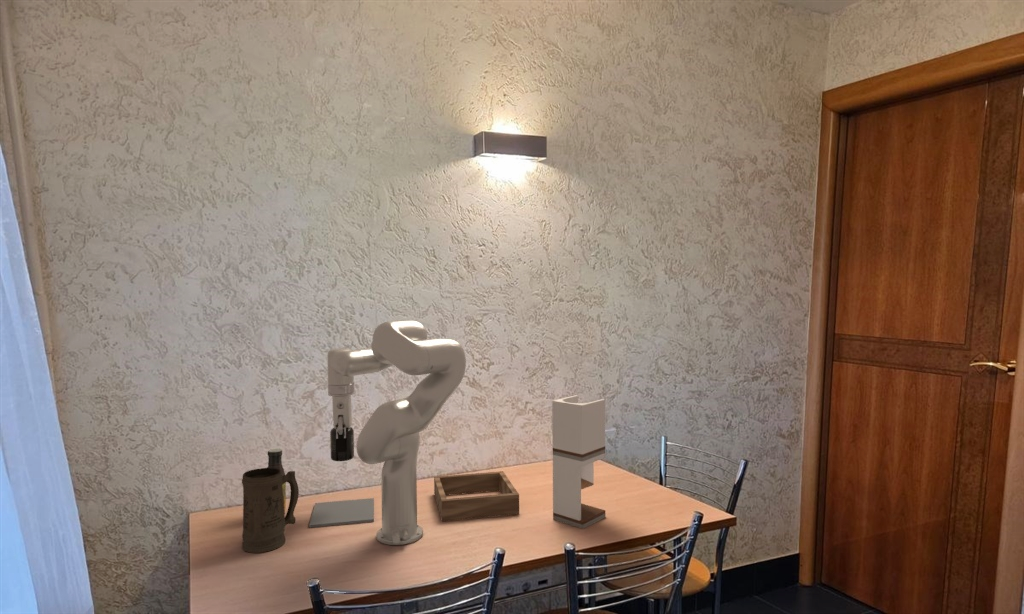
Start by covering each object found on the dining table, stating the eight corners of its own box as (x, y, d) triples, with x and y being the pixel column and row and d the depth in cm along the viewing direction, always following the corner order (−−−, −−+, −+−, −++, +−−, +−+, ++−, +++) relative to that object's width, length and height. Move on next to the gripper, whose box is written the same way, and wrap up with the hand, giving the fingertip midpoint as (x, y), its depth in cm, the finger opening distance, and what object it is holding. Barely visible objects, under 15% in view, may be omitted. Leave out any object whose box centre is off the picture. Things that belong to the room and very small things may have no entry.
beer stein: (255, 557, 153) (259, 478, 153) (230, 548, 159) (233, 472, 159) (305, 540, 166) (308, 467, 166) (280, 531, 172) (283, 461, 172)
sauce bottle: (270, 521, 177) (269, 454, 176) (259, 517, 180) (257, 451, 180) (290, 514, 182) (289, 449, 181) (279, 510, 186) (277, 446, 185)
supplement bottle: (344, 454, 187) (343, 415, 186) (358, 457, 183) (358, 418, 182) (325, 459, 181) (325, 419, 181) (340, 463, 177) (339, 422, 177)
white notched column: (582, 528, 169) (582, 405, 168) (553, 519, 177) (552, 400, 175) (605, 517, 178) (605, 399, 177) (576, 508, 185) (575, 395, 184)
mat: (373, 521, 176) (373, 519, 176) (309, 527, 172) (309, 525, 172) (373, 500, 193) (373, 498, 193) (315, 505, 189) (315, 503, 189)
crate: (519, 514, 181) (519, 494, 181) (442, 521, 176) (441, 501, 175) (503, 488, 203) (503, 471, 203) (434, 494, 198) (434, 476, 198)
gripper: (353, 393, 174) (354, 455, 174) (354, 384, 191) (355, 440, 191) (325, 395, 172) (327, 457, 173) (330, 385, 189) (331, 441, 189)
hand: (342, 447), depth 182 cm, fingers closed on supplement bottle, 6 cm apart
